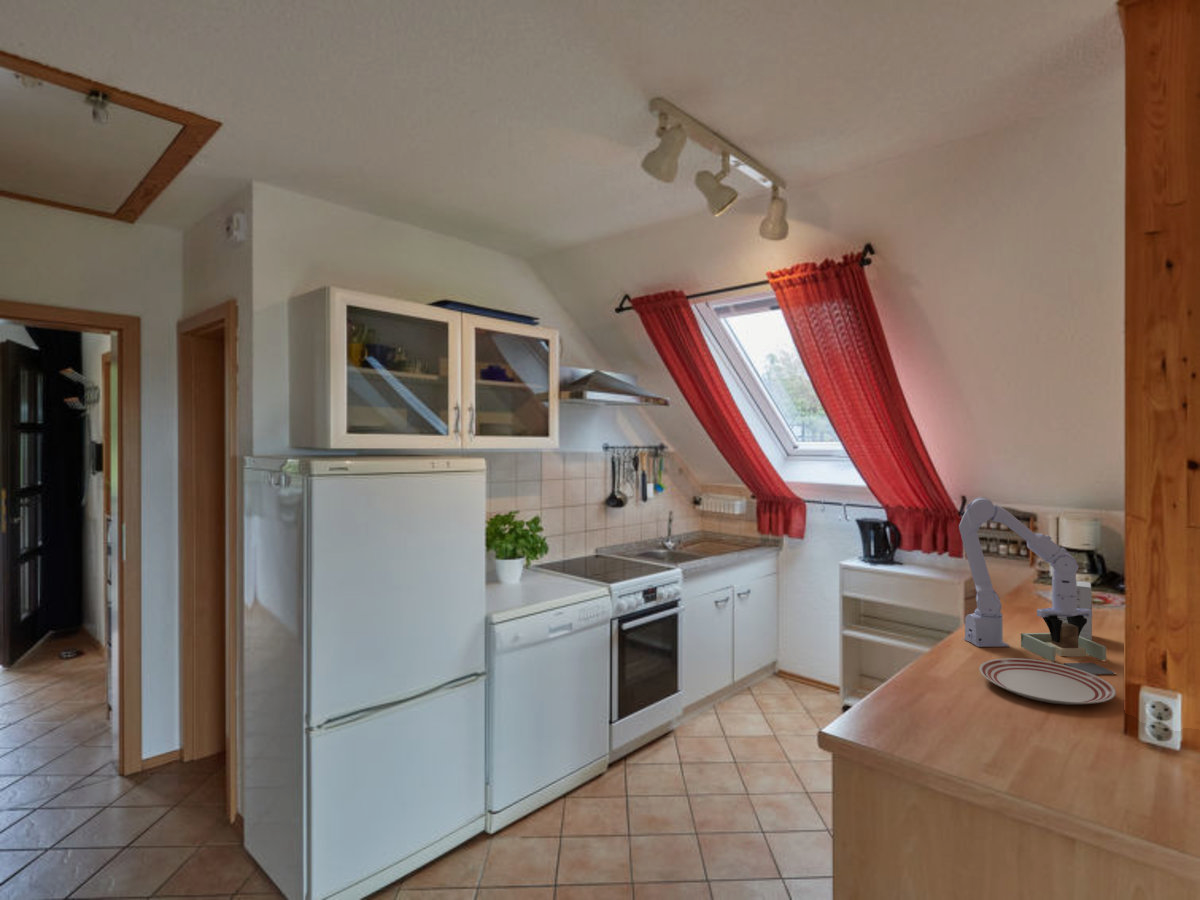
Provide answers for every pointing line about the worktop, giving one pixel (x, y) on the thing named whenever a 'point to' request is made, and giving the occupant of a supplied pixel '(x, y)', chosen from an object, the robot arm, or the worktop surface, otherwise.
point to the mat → (1090, 668)
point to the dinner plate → (1047, 681)
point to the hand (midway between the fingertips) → (1064, 641)
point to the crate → (1046, 649)
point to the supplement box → (1083, 607)
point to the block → (1067, 636)
